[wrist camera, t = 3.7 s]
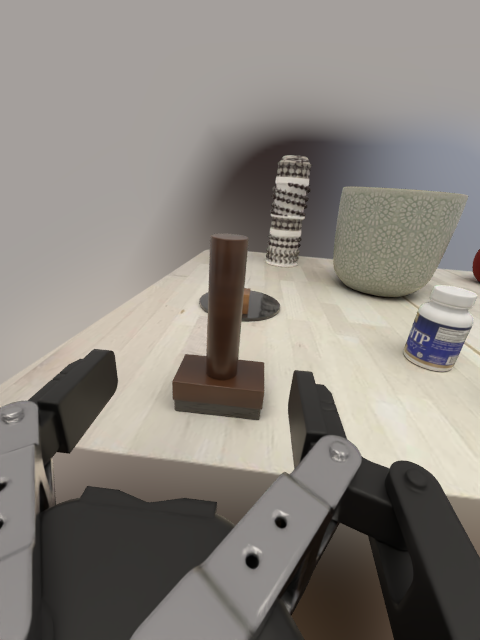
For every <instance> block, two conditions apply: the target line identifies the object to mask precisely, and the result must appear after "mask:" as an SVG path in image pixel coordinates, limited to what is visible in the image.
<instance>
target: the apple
mask: <svg viewBox="0 0 480 640" xmlns="http://www.w3.org/2000/svg"><path fill="white" fill-rule="evenodd" d="M473 274H474V276H475V278H476V279H477V280H478V281H479V282H480V249H479V250H478V252H477V253H476V255H475V258H474V261H473Z"/></svg>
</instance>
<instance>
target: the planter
mask: <svg viewBox="0 0 480 640" xmlns="http://www.w3.org/2000/svg"><path fill="white" fill-rule="evenodd" d="M467 199H468V196H467V195H463V194H455V193H446V192H434V191H422V190H408V189H392V188H371V187H344V188H343V191H342V195H341V201H340V207H339V213H338V219H337V228H336V235H335V244H334V256H333V265H334V270H335V272H336V274H337V276H338V277H339V278H340V280H341V281H342V282H343V283H344V284H345V285H347V286H348V287H350V288H352V289H354V290H357V291H360V292H363V293H367V294H371V295H376V296H384V297H401V296H406V295H409V294H411V293H414V292H416V291H418V290H419V289H421V288H422V287H424V286H425V285H426V284H427V283H428V282H429V281H430V279H431V278H432V276H433V274H434V272H435V271H436V269H437V267H438V265H439V263H440V261H441V259H442V257H443V255H444V253H445V251H446V248H447V246H448V244H449V242H450V240H451V238H452V236H453V233H454V231H455V229H456V227H457V224H458V222H459V220H460V217H461V215H462V212H463V210H464V207H465V204H466V201H467Z"/></svg>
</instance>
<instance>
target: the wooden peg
mask: <svg viewBox="0 0 480 640" xmlns="http://www.w3.org/2000/svg"><path fill="white" fill-rule="evenodd" d="M247 250H248V238H247V237H245V236H242V235H235V234H213V235H211V237H210V264H209V295H208V325H207V356H198V355H189V354H185V356H184V359H183V361H182V363H181V365H180V367H179V369H178V371H177V373H176V375H175V377H174V379H173V382H172V386H173V400H175V410H176V411H185V412H194V413H203V414H212V415H221V416H230V417H239V418H247V419H256V420H259V417H260V409H262V405H263V398H264V362H255V361H246V360H238V355H239V343H240V332H241V320H242V308H243V297H244V285H245V274H246V262H247Z"/></svg>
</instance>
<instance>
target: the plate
mask: <svg viewBox="0 0 480 640" xmlns="http://www.w3.org/2000/svg"><path fill="white" fill-rule="evenodd" d="M208 295H209V292H208V293H206V294H204V295H203V296H202V297H201V298H200V306H201V308H202V309H203V310H204V311H206V312H207V313H208ZM279 310H280V304H279V303H278V301H277V300H275V299H274V298H272V297H270V296H268V295H266V294H263V293H260V292H256V291H251V290H250V297H249V308H248V314H242V320H241V321H258V320H264V319H268V318H271V317H273V316H275V315H276V314H277V313H278V312H279Z"/></svg>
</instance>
